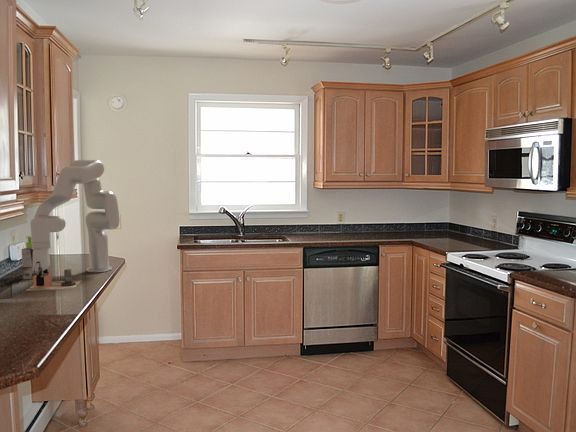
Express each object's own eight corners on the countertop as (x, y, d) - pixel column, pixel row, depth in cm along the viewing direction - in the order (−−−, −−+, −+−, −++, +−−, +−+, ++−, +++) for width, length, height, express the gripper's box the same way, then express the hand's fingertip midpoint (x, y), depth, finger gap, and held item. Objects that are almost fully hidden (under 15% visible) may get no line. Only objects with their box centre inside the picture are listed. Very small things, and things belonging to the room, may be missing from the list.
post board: (37, 285, 248) (36, 267, 247) (81, 283, 251) (81, 266, 250) (25, 293, 232) (24, 274, 231) (73, 292, 235) (72, 273, 234)
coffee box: (34, 282, 254) (32, 249, 252) (22, 281, 255) (20, 248, 253) (46, 278, 263) (44, 246, 261) (35, 277, 264) (33, 245, 262)
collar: (37, 284, 243) (37, 273, 243) (53, 283, 244) (53, 273, 244) (32, 287, 237) (31, 277, 236) (49, 287, 238) (48, 276, 237)
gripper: (38, 242, 246) (40, 279, 248) (25, 248, 229) (27, 288, 231) (55, 242, 248) (57, 279, 250) (43, 248, 230) (45, 288, 232)
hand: (43, 283), depth 240 cm, fingers closed on collar, 7 cm apart
